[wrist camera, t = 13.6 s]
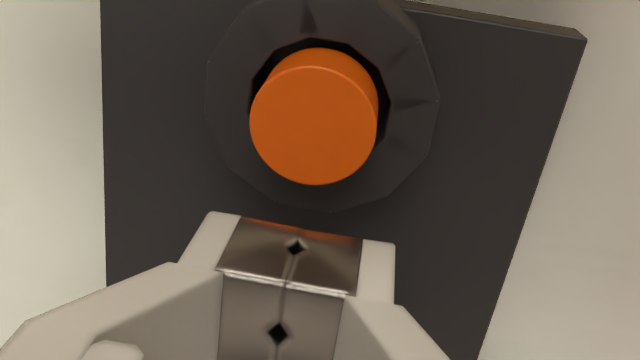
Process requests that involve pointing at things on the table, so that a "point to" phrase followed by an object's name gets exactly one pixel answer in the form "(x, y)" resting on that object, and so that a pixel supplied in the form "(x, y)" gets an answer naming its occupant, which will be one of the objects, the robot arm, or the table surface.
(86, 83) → the table surface
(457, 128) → the button base
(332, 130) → the button
